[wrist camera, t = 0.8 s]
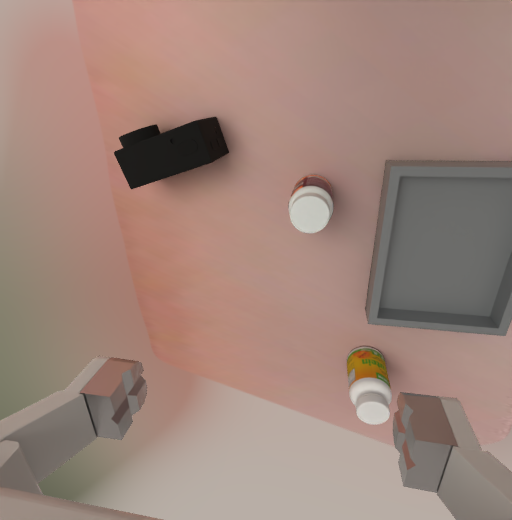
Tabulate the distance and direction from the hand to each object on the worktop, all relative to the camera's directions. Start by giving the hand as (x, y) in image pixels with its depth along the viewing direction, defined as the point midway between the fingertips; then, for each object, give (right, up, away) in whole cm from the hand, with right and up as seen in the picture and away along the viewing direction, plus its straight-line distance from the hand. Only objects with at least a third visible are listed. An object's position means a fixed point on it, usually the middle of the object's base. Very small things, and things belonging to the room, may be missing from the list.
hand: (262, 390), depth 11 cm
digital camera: (-9, +19, +31) cm, 37 cm away
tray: (+23, +6, +30) cm, 38 cm away
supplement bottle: (+16, -11, +40) cm, 45 cm away
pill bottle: (+7, +12, +31) cm, 34 cm away
